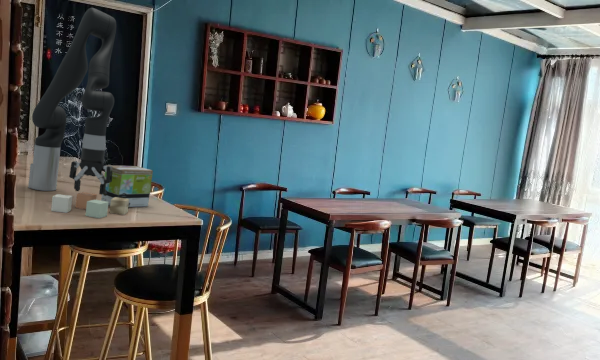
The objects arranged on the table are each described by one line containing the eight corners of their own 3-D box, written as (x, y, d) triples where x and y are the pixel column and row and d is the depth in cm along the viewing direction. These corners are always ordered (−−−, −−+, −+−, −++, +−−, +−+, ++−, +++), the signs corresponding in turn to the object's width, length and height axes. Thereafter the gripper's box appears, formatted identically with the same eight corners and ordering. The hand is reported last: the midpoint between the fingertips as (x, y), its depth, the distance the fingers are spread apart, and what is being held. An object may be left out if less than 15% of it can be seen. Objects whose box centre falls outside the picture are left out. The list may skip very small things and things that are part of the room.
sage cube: (85, 215, 173) (86, 201, 172) (93, 213, 178) (95, 199, 177) (99, 218, 172) (100, 203, 172) (106, 216, 177) (108, 201, 176)
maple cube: (109, 213, 182) (111, 199, 182) (113, 210, 187) (115, 197, 187) (123, 215, 183) (125, 201, 182) (127, 212, 188) (129, 199, 187)
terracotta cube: (75, 207, 182) (76, 193, 182) (81, 205, 187) (83, 192, 187) (89, 209, 182) (91, 196, 182) (95, 207, 187) (96, 194, 187)
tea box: (117, 208, 191) (122, 169, 189) (100, 203, 196) (104, 164, 194) (149, 206, 204) (153, 169, 202) (132, 201, 209) (136, 165, 207)
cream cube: (51, 211, 172) (52, 196, 171) (55, 208, 177) (57, 194, 176) (66, 213, 173) (68, 198, 172) (71, 210, 178) (72, 195, 177)
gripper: (68, 145, 179) (64, 191, 181) (109, 150, 179) (105, 196, 181) (78, 144, 186) (74, 188, 188) (117, 149, 187) (113, 193, 188)
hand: (89, 192), depth 185 cm, fingers open, 8 cm apart
